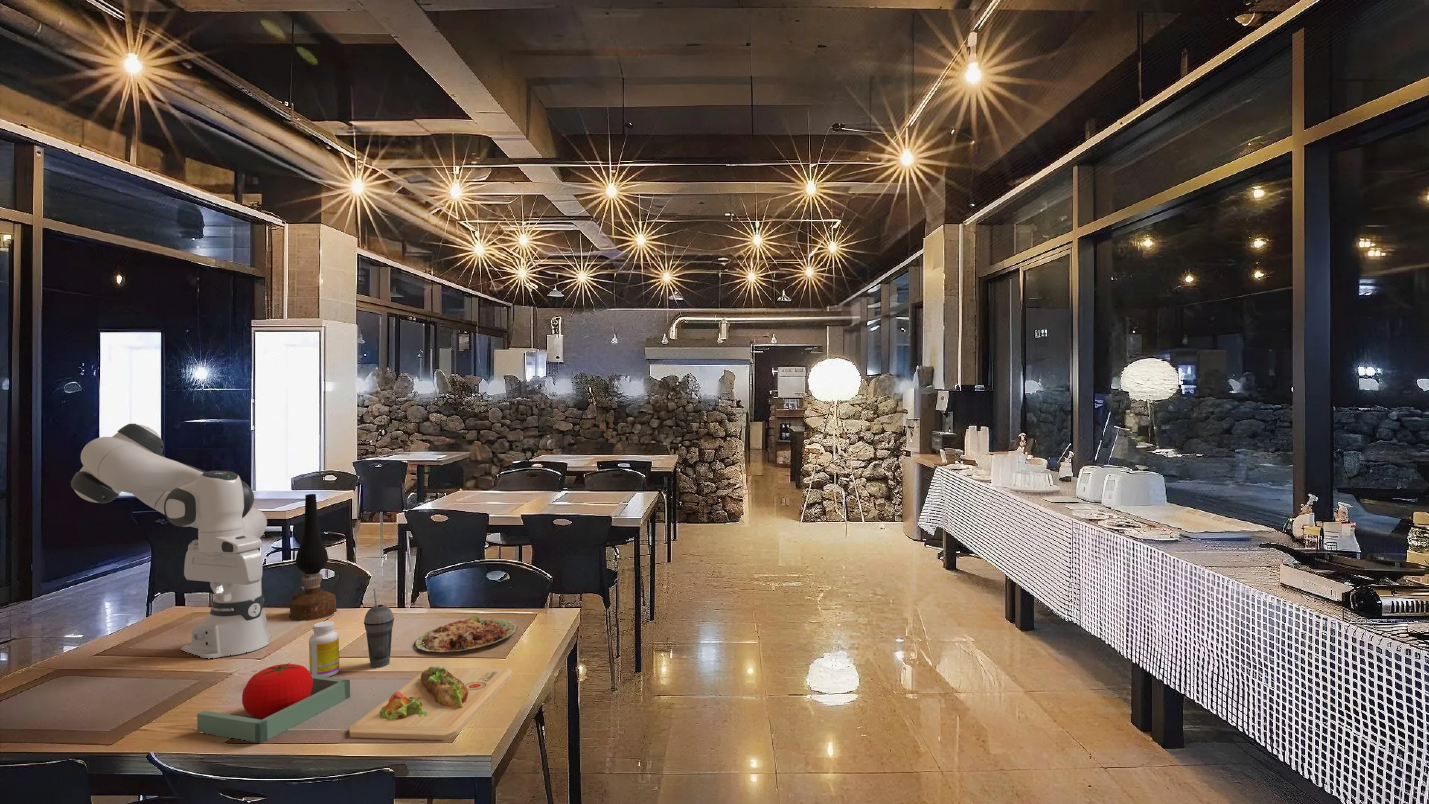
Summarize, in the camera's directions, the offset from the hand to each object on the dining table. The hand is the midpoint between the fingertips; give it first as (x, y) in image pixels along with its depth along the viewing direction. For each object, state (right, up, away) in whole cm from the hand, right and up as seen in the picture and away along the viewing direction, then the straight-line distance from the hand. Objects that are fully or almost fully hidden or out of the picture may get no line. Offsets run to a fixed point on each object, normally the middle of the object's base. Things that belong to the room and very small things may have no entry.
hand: (223, 600), depth 164 cm
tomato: (+17, -24, -6) cm, 30 cm away
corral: (+16, -23, -6) cm, 29 cm away
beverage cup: (+26, -23, +22) cm, 41 cm away
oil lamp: (-17, -24, +67) cm, 73 cm away
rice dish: (+42, -23, +41) cm, 63 cm away
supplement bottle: (+15, -23, +16) cm, 32 cm away
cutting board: (+51, -24, -2) cm, 56 cm away
